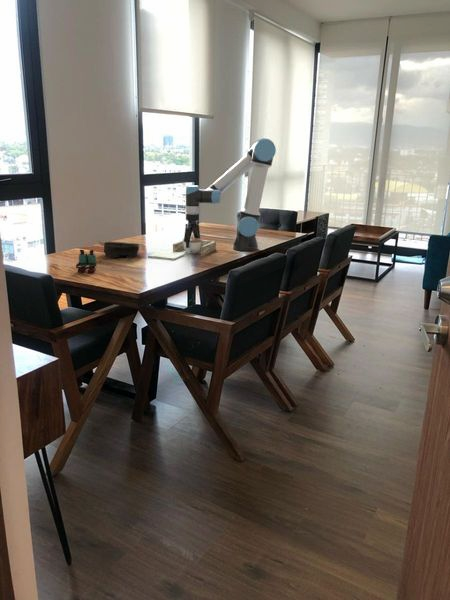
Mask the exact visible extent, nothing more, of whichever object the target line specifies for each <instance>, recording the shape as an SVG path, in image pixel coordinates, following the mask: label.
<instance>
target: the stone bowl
mask: <svg viewBox="0 0 450 600" xmlns="http://www.w3.org/2000/svg"><path fill="white" fill-rule="evenodd" d="M98 243H99V245H101V246H103V252H104V254H105V255H104V256H105V257H106V258H108V257H109V259H114V258H115V259H117V258H121V257H122V256H125V257H126V258H129V259H130V258H134V257H137V255H138V253H139V250H140V248H141V247H144V246H145V244H144V243H139V242H131V241H130V242H127V241H102V242H100V241H98Z"/></svg>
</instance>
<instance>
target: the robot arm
mask: <svg viewBox="0 0 450 600" xmlns="http://www.w3.org/2000/svg"><path fill="white" fill-rule="evenodd" d="M275 155H276V145H275V142H273V140H272V139H269V138H264V137H263V138H261V139H257V140H256V141H255V142H254V144H253V145H252V146H251V147H250V148H249V149H248V150H247V151H246V152H245V155H244V156H243V157H241V158H240V160H238V161H237V162H236V163H235V164H234V165H232V166H231V167H230V168H229V169H228V170H226V172H224V173H223V175H221V176H220V177H219V178H218V179H216V180H215V181H214V182H213V183H212V184H211V185H210V186H209V187H207V188H206V189H200V186H199V185H187V186H186V187H185V220H186V221H187V223H185V229H184V237H183V239H184V242H186V250H185V253H186V254H192V253H191V242H190V239H191V236H193V238H200V239H201V233H200V232H201V231H200V222H199V220H200V214H199V213H200V204H214V205H215V204H220V203H221V194H223V193H224V192H225V191H226V190H227V189H229V187H230V186H232V185H233V184H235V182H236V181H238V180H239V179H240V178H241V177H242V176H243V175H244V174H246V173H247V172H248V171H250V170H251V173H250V178H249V183H248V186H247V187H248V189H247V191H246V198H245V202H244V207H243V208H242V209H240V210H238V211H237V212H236V235H235V240H234V242H233V245H232V248H233V250H235V251H240V252H253V251H255V252H256V251H257V249H258V250H259V245H258V241H257V237H256V234H257V233H258V231H259V229H260V219H261V216H262V215H261V213H260V207H261V202H262V198H263V194H264V189H265V185H266V178H267V175H268V171H269V169H270V168H271V167H272V164H273V161H274V157H275ZM192 234H193V235H192Z"/></svg>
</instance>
